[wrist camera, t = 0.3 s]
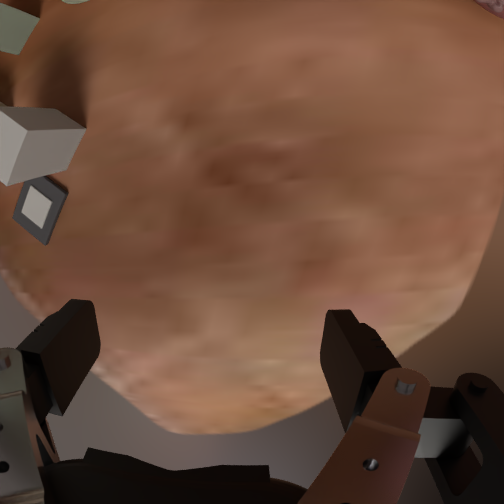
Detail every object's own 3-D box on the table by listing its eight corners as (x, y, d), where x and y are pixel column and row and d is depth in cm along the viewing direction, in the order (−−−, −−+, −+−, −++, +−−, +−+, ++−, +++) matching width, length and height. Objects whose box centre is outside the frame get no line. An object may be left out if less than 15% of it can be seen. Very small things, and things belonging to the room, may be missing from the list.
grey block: (55, 108, 27) (-6, 106, 18) (86, 129, 28) (27, 130, 19) (37, 148, 29) (-24, 158, 19) (66, 170, 30) (6, 186, 20)
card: (33, 166, 29) (29, 167, 29) (68, 193, 30) (64, 194, 30) (15, 216, 31) (11, 218, 31) (48, 243, 32) (44, 246, 32)
